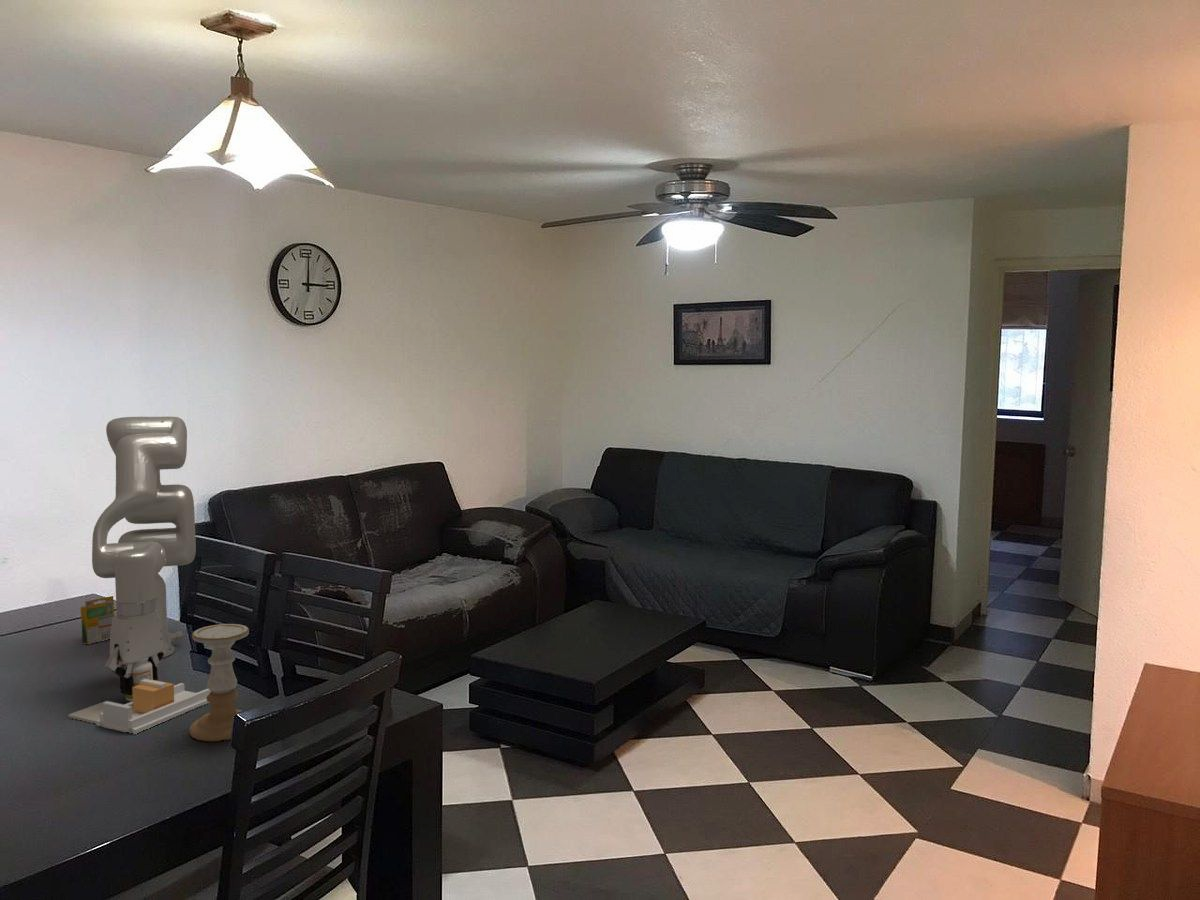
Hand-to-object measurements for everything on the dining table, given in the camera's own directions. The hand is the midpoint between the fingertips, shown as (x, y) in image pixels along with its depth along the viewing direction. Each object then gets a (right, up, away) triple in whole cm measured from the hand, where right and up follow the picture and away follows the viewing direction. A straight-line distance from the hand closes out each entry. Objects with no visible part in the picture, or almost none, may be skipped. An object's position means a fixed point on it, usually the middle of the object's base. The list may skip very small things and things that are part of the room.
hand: (139, 688), depth 197 cm
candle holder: (+24, -4, -15) cm, 29 cm away
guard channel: (+7, -3, -7) cm, 11 cm away
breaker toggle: (+7, -2, -8) cm, 11 cm away
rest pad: (-4, -3, -7) cm, 9 cm away
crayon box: (-32, +1, +43) cm, 54 cm away
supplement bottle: (0, -2, 0) cm, 2 cm away
